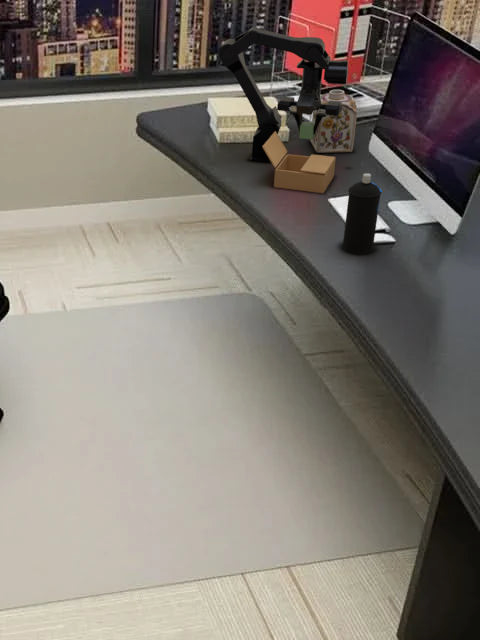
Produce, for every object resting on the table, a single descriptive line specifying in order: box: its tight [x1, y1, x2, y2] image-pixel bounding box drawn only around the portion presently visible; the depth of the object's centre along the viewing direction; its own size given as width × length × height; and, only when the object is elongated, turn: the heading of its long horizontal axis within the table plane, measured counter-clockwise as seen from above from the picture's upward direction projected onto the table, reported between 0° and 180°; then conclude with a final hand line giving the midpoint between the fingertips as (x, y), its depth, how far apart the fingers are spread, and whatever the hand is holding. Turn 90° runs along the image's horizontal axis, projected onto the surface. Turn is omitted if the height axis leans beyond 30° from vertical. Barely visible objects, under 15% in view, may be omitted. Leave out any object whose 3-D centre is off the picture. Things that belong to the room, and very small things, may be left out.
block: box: [298, 121, 315, 140], centre depth 308 cm, size 4×4×4 cm
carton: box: [273, 153, 336, 194], centre depth 298 cm, size 15×14×6 cm
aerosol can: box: [341, 173, 383, 255], centre depth 255 cm, size 8×8×20 cm
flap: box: [262, 131, 288, 169], centre depth 298 cm, size 7×14×1 cm
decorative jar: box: [309, 89, 358, 154], centre depth 318 cm, size 12×12×18 cm
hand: (307, 133), depth 309 cm, fingers closed on block, 4 cm apart
